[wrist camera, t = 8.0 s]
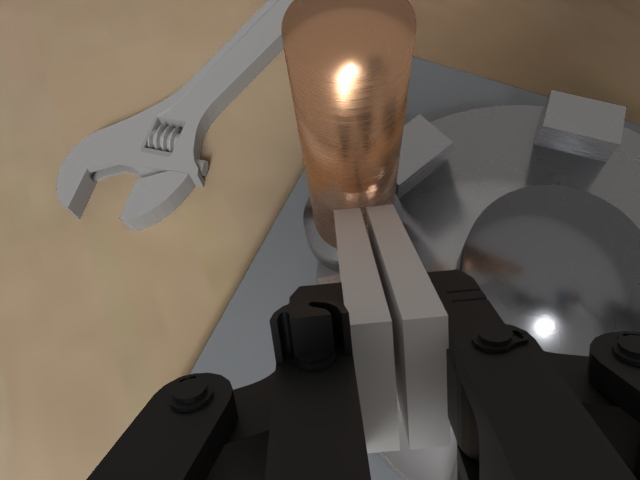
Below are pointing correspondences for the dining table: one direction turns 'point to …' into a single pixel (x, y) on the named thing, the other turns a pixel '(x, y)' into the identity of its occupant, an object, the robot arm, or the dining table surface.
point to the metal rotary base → (467, 186)
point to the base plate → (296, 257)
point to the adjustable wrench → (171, 130)
